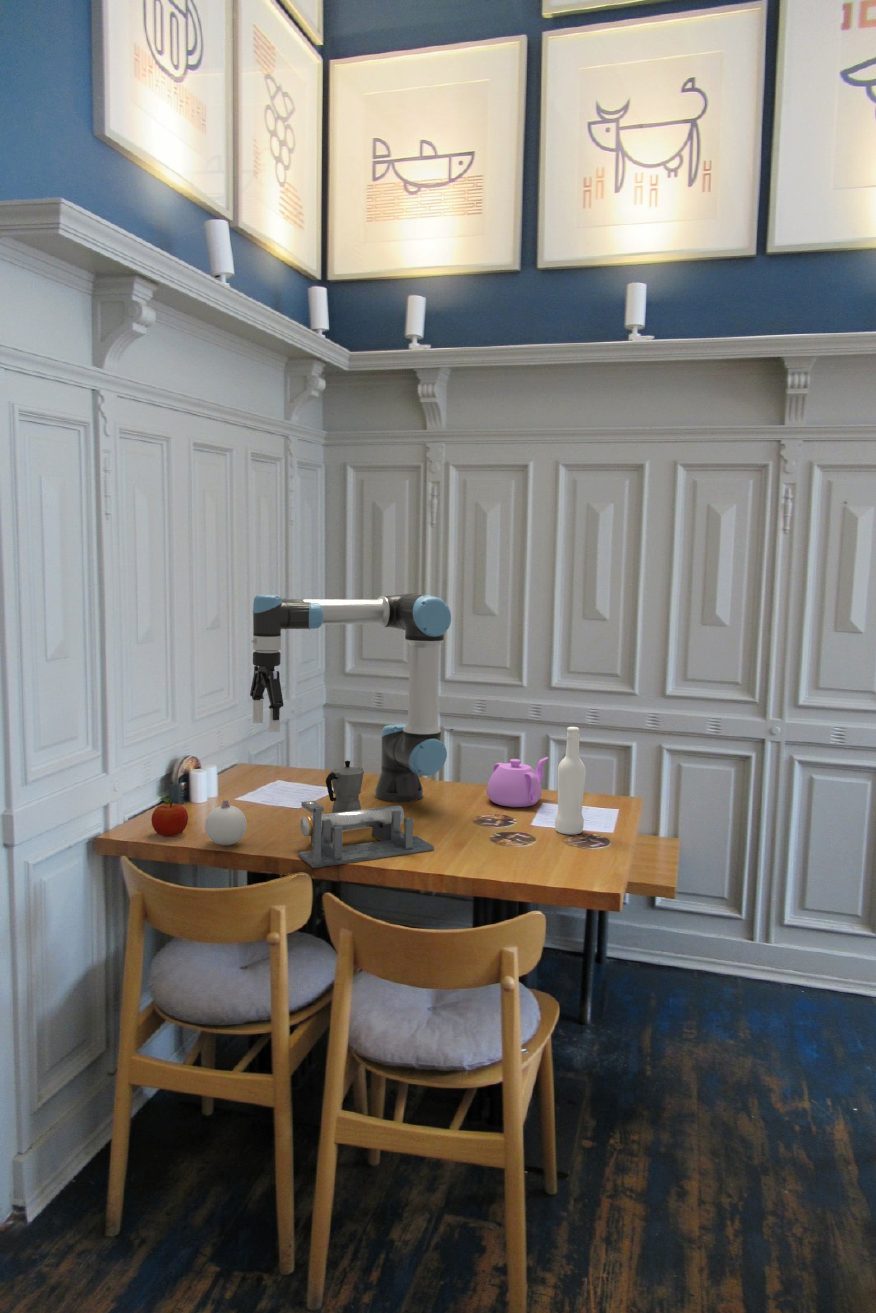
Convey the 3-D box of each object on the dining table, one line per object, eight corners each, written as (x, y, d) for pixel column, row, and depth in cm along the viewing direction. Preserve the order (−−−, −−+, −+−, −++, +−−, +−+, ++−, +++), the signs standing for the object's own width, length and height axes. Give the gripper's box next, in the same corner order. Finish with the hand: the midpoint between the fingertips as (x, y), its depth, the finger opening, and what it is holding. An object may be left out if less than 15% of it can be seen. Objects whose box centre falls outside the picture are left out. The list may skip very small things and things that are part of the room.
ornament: (226, 852, 242) (226, 806, 241) (197, 845, 248) (197, 800, 246) (254, 842, 251) (254, 798, 250) (225, 835, 256) (225, 792, 255)
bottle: (585, 829, 273) (590, 726, 269) (580, 836, 265) (585, 731, 262) (557, 825, 275) (562, 723, 272) (551, 833, 268) (556, 728, 264)
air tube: (395, 820, 263) (395, 802, 263) (404, 825, 259) (404, 807, 258) (300, 833, 249) (300, 813, 249) (307, 838, 245) (308, 819, 244)
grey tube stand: (415, 839, 258) (417, 785, 257) (434, 850, 249) (436, 794, 248) (295, 856, 241) (296, 798, 239) (311, 869, 232) (312, 808, 231)
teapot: (568, 805, 298) (570, 762, 296) (514, 815, 285) (516, 769, 284) (523, 789, 316) (525, 749, 314) (471, 797, 303) (472, 755, 302)
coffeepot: (348, 814, 281) (350, 754, 278) (373, 820, 275) (375, 759, 273) (313, 825, 268) (314, 763, 266) (338, 832, 263) (339, 768, 261)
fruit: (174, 841, 250) (174, 804, 249) (144, 837, 253) (144, 800, 252) (195, 832, 259) (195, 796, 258) (166, 827, 262) (166, 792, 261)
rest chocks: (381, 833, 263) (382, 815, 262) (394, 840, 256) (394, 822, 256) (310, 842, 253) (311, 824, 252) (321, 851, 246) (322, 832, 245)
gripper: (239, 646, 270) (238, 720, 273) (269, 656, 249) (268, 736, 251) (264, 646, 274) (263, 718, 276) (296, 655, 252) (295, 734, 255)
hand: (265, 727), depth 264 cm, fingers open, 13 cm apart
